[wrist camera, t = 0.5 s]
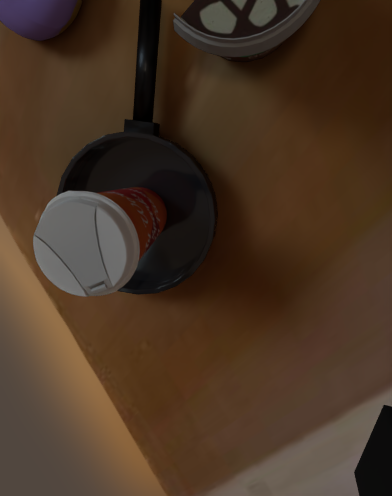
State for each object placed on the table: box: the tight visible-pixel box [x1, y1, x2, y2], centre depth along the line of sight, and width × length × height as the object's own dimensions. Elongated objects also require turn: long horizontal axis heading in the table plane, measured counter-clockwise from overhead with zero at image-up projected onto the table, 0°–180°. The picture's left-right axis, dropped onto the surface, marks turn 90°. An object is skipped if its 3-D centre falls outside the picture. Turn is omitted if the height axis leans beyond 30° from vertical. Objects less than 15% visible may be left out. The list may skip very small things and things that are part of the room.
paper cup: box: [33, 187, 167, 296], centre depth 31 cm, size 8×8×14 cm
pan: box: [57, 132, 218, 294], centre depth 36 cm, size 16×16×3 cm
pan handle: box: [124, 0, 162, 136], centre depth 32 cm, size 12×3×2 cm, turn 173°
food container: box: [173, 0, 320, 62], centre depth 26 cm, size 12×6×10 cm, turn 134°
